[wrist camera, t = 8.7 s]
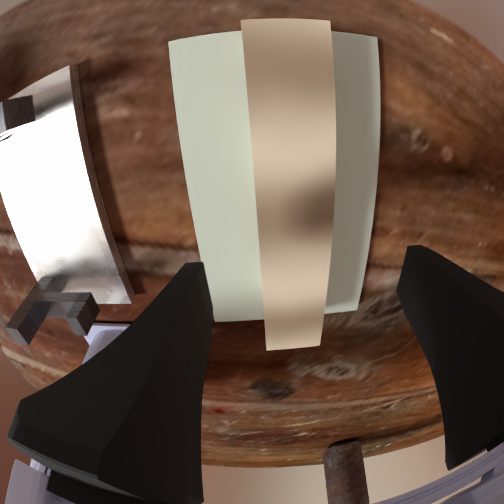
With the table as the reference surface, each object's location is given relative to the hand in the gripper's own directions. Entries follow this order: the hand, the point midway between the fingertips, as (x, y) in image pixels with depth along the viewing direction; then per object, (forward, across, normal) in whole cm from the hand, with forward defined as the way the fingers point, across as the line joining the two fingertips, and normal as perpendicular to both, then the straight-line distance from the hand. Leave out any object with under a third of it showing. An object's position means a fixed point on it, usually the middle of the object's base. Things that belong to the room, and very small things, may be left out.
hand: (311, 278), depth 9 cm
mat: (+8, 0, 0) cm, 8 cm away
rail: (+7, 0, 0) cm, 7 cm away
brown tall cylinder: (+8, -11, +48) cm, 50 cm away
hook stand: (+8, +16, -2) cm, 18 cm away
